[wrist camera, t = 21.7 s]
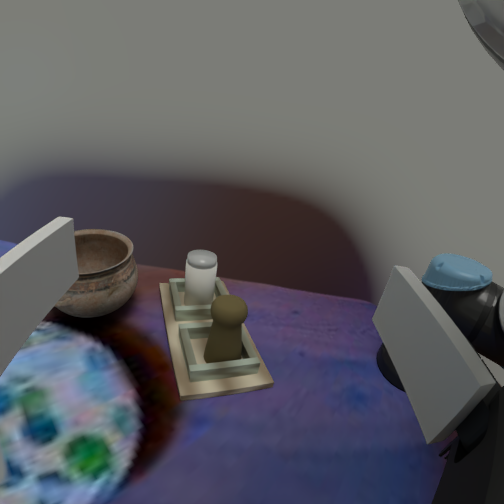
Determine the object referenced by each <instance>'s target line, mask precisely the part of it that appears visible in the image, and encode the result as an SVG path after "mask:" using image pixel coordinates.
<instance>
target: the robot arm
mask: <svg viewBox="0 0 504 504" xmlns="http://www.w3.org/2000/svg"><path fill="white" fill-rule="evenodd" d="M458 1H459V4H460V6H461V8H462V10H463V12H464V15H465V17H466V19H467V21H468V23H469V25H470V27H471V29H472V31H473V32H474V34H475V35H476V37H477V38H478V40H479V41H480V43H481V44H482V45H483V47H484V48H485V50H486V51H487V52H488V54H489V55H490V56H491V57H492V58H493V59H494V60H495V61H496V63H497V64H498V65H499V66H500V67H501V68H502V69H503V70H504V0H458ZM78 278H79V272H78V265H77V257H76V247H75V237H74V224H73V218H66V217H58V218H56V219H55V220H53V221H52V222H50V223H48V224H47V225H45V226H44V227H43V228H41V229H40V230H38V231H37V232H35V233H34V234H32V235H31V236H29V237H28V238H26V239H25V240H24V241H22V242H21V243H20V244H18V245H17V246H15V247H14V248H13V249H11V250H10V251H9V252H7V253H6V254H5V255H3V256H2V257H1V258H0V376H1V375H2V373H3V372H4V370H5V369H6V368H7V366H8V365H9V363H10V362H11V361H12V359H13V358H14V356H15V355H16V354H17V352H18V351H19V350H20V348H21V347H22V346H23V344H24V343H25V342H26V340H27V339H28V338H29V336H30V335H31V334H32V332H33V331H34V330H35V329H36V327H37V326H38V325H39V324H40V322H41V321H42V320H43V319H44V317H45V316H46V315H47V314H48V313H49V311H50V310H51V309H52V308H53V307H54V305H55V304H56V303H57V302H58V301H59V300H60V298H61V297H62V296H63V295H64V294H65V293H66V292H67V290H68V289H69V288H70V287H71V286H72V285H73V284H74V282H75V281H76V280H77V279H78ZM372 321H373V323H374V325H375V327H376V329H377V331H378V333H379V335H380V337H381V339H382V341H383V343H382V345H381V347H380V349H379V351H378V354H377V362H378V366H379V368H380V370H381V372H382V373H383V375H384V376H385V377H386V378H387V379H388V380H389V381H390V382H391V383H392V384H393V385H395V386H396V387H398V388H400V389H402V390H404V391H406V393H407V395H408V398H409V400H410V403H411V405H412V407H413V410H414V412H415V415H416V417H417V419H418V422H419V424H420V427H421V429H422V432H423V435H424V437H425V440H426V442H427V444H432V443H436V442H440V441H443V440H445V439H446V438H447V437H448V436H449V435H450V434H451V433H452V432H453V431H454V430H455V429H456V431H457V433H458V436H457V437H456V438H455V439H454V440H453V441H452V442H451V443H450V444H449V445H448V446H446V447H445V448H444V449H443V450H442V451H441V453H440V454H439V456H440V457H441V456H443V455H444V454H445V453H446V452H447V451H448V450H450V452H449V454H448V455H447V456H446V457H445V459H447V462H446V465H445V468H444V472H443V474H442V477H441V480H440V483H439V486H438V488H437V491H436V494H435V496H434V499H433V501H432V504H504V386H503V387H502V388H501V387H500V385H499V384H498V382H497V381H496V379H495V378H494V376H493V375H492V373H491V372H490V370H489V369H488V367H487V366H486V364H485V363H484V361H483V360H481V357H480V355H479V354H481V355H483V356H485V357H486V358H488V359H490V360H492V361H493V362H495V363H497V364H498V365H500V366H501V367H502V368H503V369H504V288H503V287H501V286H499V285H497V284H495V283H494V282H492V272H491V271H490V270H489V269H488V268H487V267H486V266H484V265H481V263H479V262H477V261H475V260H472V259H470V258H467V257H463V256H460V255H455V254H440V255H437V256H436V257H434V258H433V259H432V260H431V262H430V264H429V266H428V269H427V271H426V273H425V274H424V275H423V277H422V282H421V281H420V280H419V279H418V278H417V277H416V276H415V274H414V273H413V272H412V271H411V270H410V269H409V268H408V267H401V266H394V267H393V270H392V272H391V276H390V278H389V280H388V283H387V285H386V288H385V290H384V293H383V295H382V297H381V300H380V302H379V304H378V307H377V309H376V311H375V314H374V316H373V318H372ZM475 351H476V352H475ZM477 352H478V353H479V354H478V353H477Z"/></svg>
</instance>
